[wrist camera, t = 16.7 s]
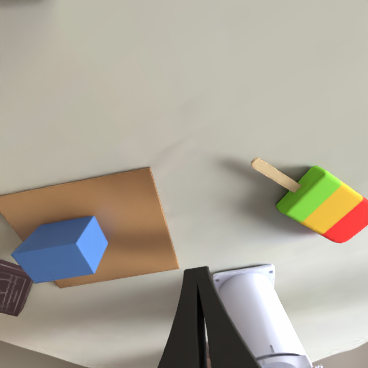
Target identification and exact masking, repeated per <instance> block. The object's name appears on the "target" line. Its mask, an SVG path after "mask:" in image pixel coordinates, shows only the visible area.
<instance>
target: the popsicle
mask: <svg viewBox="0 0 368 368" xmlns="http://www.w3.org/2000/svg"><path fill="white" fill-rule="evenodd" d="M251 166H252V167H253V168H254V169H256V170H258V171H259V172H261V173H263V174H264V175H266V176H267V177H269V178H271V179H272V180H274V181H275V182H277V183H279V184H280V185H282V186H284V187H285V188H287V189H288V190H290V191H289V192H288V193H287V194H286V195H285V196H284V197H283V198H282V199H281V200H280V201H279V202H278V203H277V204H276V208H277V209H278V210H279V211H280V212H281V213H283V214H285V215H287V216H288V217H290V218H292V219H294V220H295V221H297V222H299V223H301V224H302V225H304V226H306V227H308V228H310V229H311V230H313V231H315V232H317V233H318V234H320V235H322V236H324V237H325V238H327V239H329V240H331V241H333V242H336V243H343V242H346V241H348V240H349V239H351V238H352V237H353V236H355V235H356V234H357V233H358V232H360V231H361V230H362V229H363V228H365V227H366V226H367V225H368V200H367V199H365V198H364V197H363V196H361V195H360V194H358V193H357V192H355V191H354V190H353V189H351V188H350V187H348V186H347V185H346V184H344V183H343V182H341V181H340V180H339V179H337V178H336V177H334V176H333V175H332V174H330V173H329V172H327V171H326V170H324V169H322V168H321V167H318V166H313V167H312V168H311V169H310V170H309V171H308V172H307V173H306V174H305V175H304V176H303V177H302V178H301V179H300V180H299V181H298V182H296V181H294V180H292V179H291V178H289V177H288V176H286V175H285V174H283V173H282V172H280V171H278V170H277V169H275V168H274V167H272V166H271V165H269V164H268V163H266V162H265V161H263V160H261V159H260V158H255V159H254V160H253V161H252V162H251Z"/></svg>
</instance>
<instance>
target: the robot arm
mask: <svg viewBox="0 0 368 368" xmlns="http://www.w3.org/2000/svg"><path fill="white" fill-rule="evenodd" d="M274 273H275V268H274V266H273V265H271V264H270V265H263V266H257V267H251V268H245V269H239V270H232V271H226V272H220V273H215V274H213V280H212V278H211V275H210V271H209V267H207V266H204V267H198V268H192V269H186V270H185V271H184V276H183V284H182V289H181V294H180V299H179V303H178V307H177V311H176V315H175V318H174V321H173V325H172V328H171V331H170V335H169V338H168V341H167V344H166V346H165V349H164V352H163V355H162V357H161V360H160V363H159V365H158V368H208V367H207V354H206V337H205V323H206V329H207V336H208V344H209V353H210V361H211V368H313V366H312V364H311V362H310V360H309V358H308V356H307V355H306V354H305V352H304V350H303V348H302V346H301V344H300V342H299V340H298V338H297V336H296V334H295V331H294V329H293V327H292V325H291V323H290V321H289V319H288V317H287V315H286V313H285V311H284V309H283V307H282V305H281V303H280V301H279V299H278V297H277V295H276V293H275V291H274ZM213 281H214V283H213ZM204 318H205V320H204ZM315 368H323V367H322V366H321V365H318V366H315Z"/></svg>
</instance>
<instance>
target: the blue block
mask: <svg viewBox="0 0 368 368" xmlns="http://www.w3.org/2000/svg"><path fill="white" fill-rule="evenodd" d="M107 244H108V242H107V240H106V238H105V236H104V234H103V232H102V230H101V228H100V226H99V224H98V222H97V220H96V218H95V216H88V217H83V218H77V219H72V220H66V221H61V222H55V223H50V224H44V225H40V226H39V227H38V228H37V229H36V230H35V231H34V232H33V233H32V234H31V235H30V236H29V237H28V238H27V239H26V240H25V241H24V242H23V243H22V244H21V245H20V246H19V247H18V248H17V249H16V250H15V251H14V252H13V253H12V254H11V256H12V257H13V258H14V259H15V260H16V262H17V263H18V264H19V265H20V266H21V267H22V269H23V270H24V271H25V272H26V273H27V274H28V276H29V277H30V278H31V279H32V280H33V282H34V283H42V282H48V281H54V280H60V279H66V278H72V277H78V276H84V275H90V274H95V272H96V269H97V267H98V265H99V263H100V260H101V258H102V256H103V254H104V251H105V249H106V247H107Z"/></svg>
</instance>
